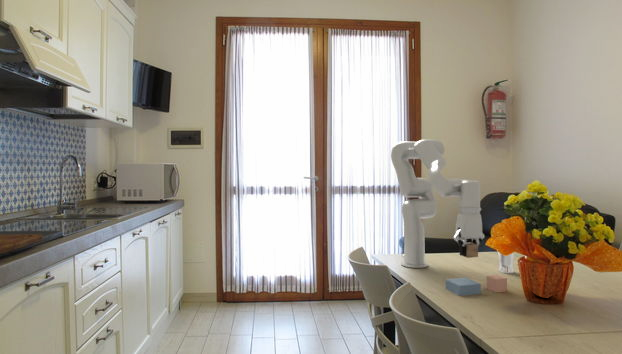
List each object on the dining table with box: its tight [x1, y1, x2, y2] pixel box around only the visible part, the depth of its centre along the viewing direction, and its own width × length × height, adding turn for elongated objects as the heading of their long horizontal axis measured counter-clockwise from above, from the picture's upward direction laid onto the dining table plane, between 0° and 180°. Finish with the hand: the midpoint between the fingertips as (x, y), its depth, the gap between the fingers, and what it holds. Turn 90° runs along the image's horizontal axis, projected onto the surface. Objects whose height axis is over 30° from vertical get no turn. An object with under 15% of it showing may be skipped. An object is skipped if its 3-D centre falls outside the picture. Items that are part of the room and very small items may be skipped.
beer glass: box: [497, 251, 515, 274], centre depth 179 cm, size 7×7×15 cm
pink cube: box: [486, 274, 508, 293], centre depth 152 cm, size 5×5×5 cm
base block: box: [445, 277, 482, 296], centre depth 151 cm, size 9×9×4 cm
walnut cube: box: [460, 241, 479, 259], centre depth 163 cm, size 5×5×5 cm
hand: (468, 254), depth 163 cm, fingers closed on walnut cube, 4 cm apart
